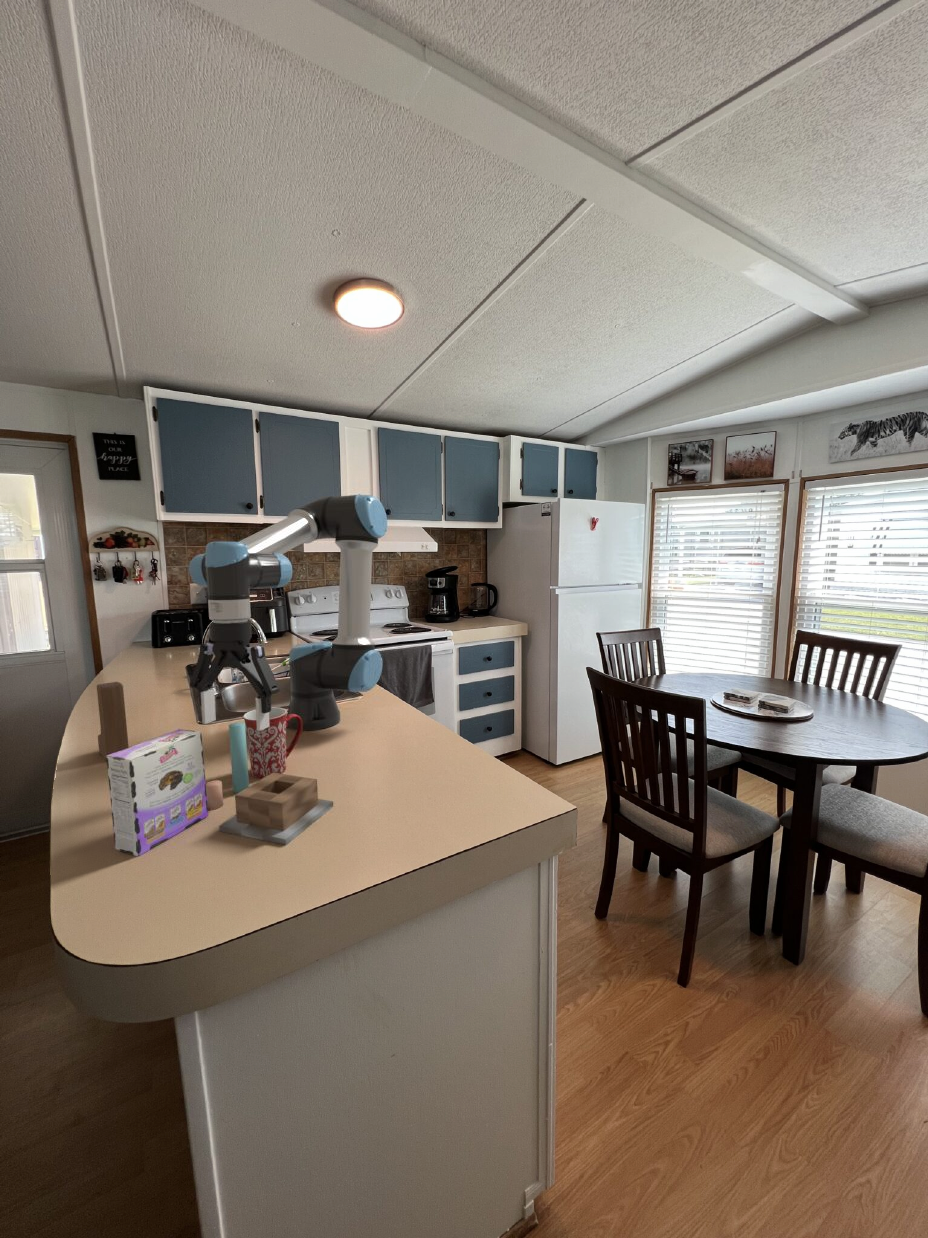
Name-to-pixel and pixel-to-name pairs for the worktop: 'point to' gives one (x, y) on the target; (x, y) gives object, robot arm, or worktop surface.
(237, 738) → the long pin
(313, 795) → the square wooden frame
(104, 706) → the wooden block
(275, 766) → the mug
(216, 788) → the light brown oval shape
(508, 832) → the worktop surface
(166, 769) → the candy box
